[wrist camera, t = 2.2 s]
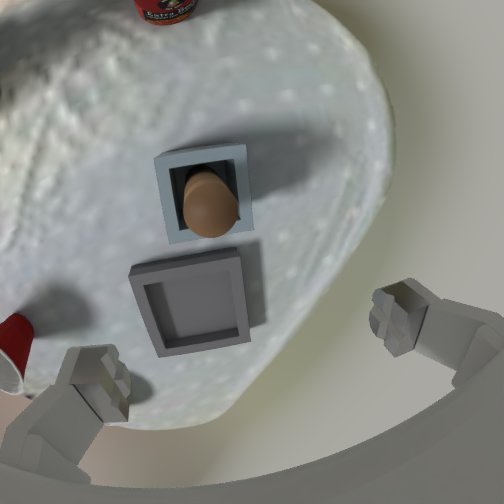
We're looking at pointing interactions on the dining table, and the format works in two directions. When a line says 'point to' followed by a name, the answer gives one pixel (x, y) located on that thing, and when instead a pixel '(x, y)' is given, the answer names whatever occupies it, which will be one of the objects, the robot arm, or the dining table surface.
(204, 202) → the walnut dowel
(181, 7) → the canned food
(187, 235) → the grey square bin
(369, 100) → the dining table surface
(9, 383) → the plastic cup
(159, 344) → the tray
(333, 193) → the dining table surface
